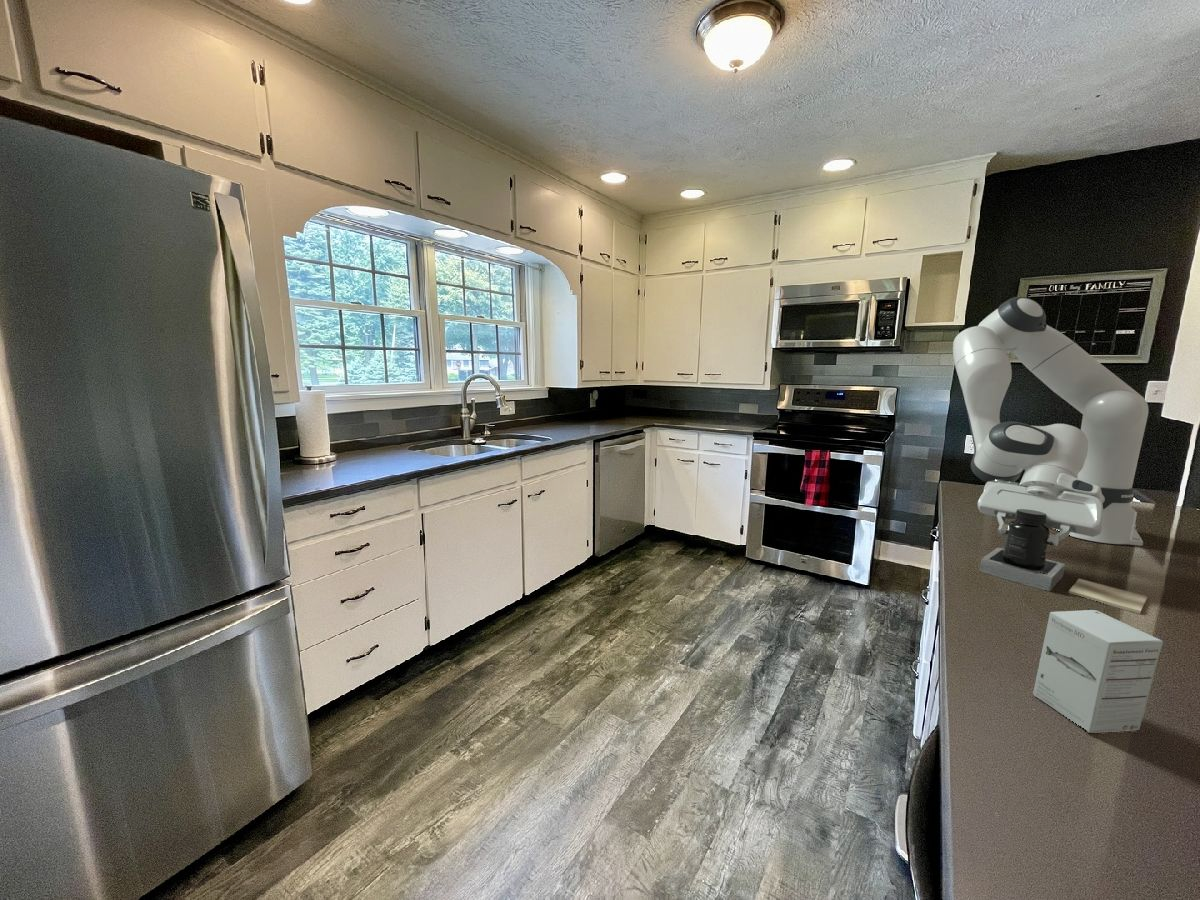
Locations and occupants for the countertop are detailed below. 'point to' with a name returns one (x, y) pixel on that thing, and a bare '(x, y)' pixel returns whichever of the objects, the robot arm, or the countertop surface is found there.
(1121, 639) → the supplement box
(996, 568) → the steel holder
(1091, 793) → the countertop surface
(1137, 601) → the birch pad
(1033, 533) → the supplement bottle
